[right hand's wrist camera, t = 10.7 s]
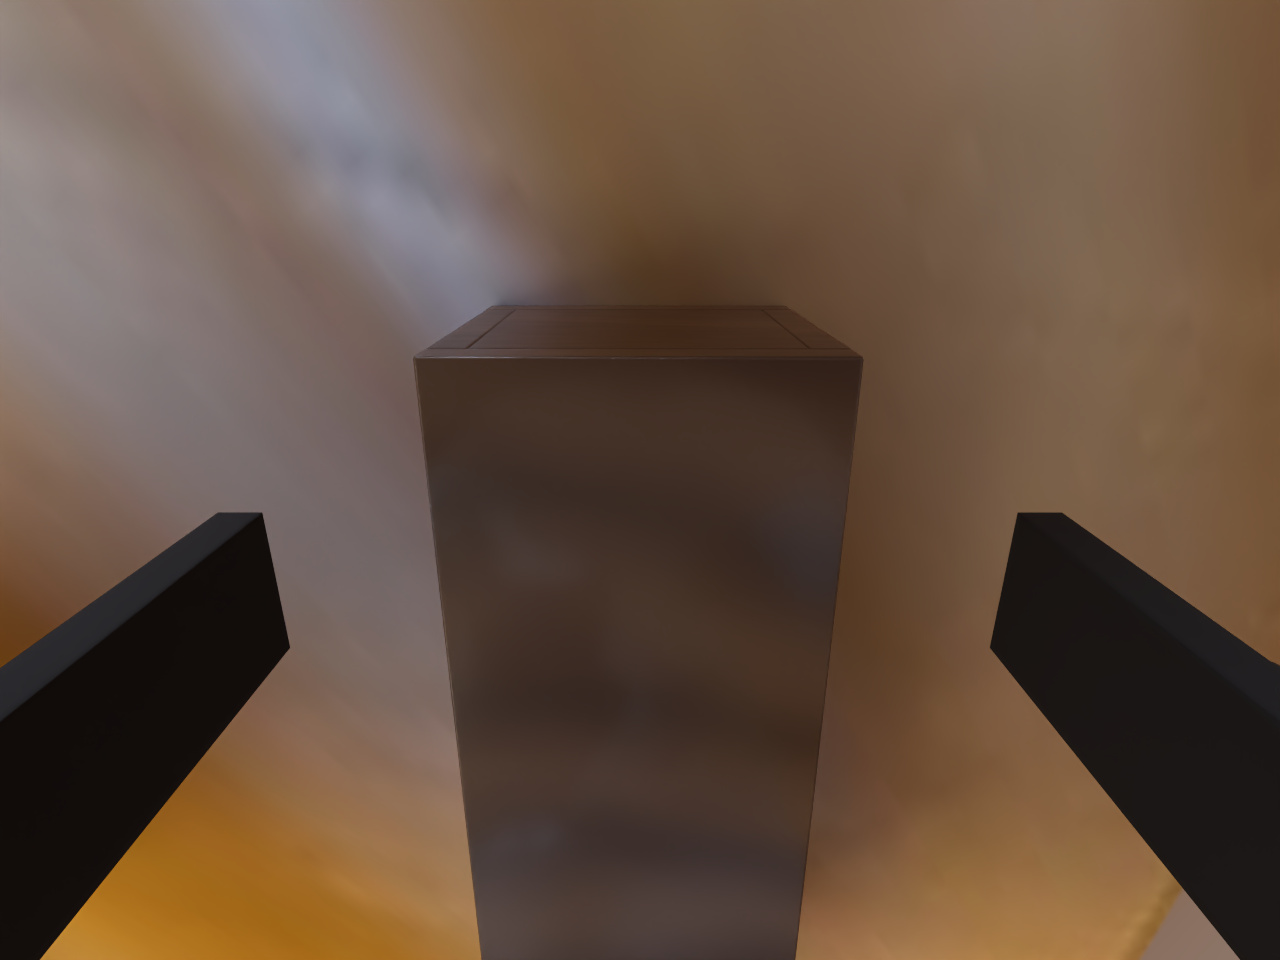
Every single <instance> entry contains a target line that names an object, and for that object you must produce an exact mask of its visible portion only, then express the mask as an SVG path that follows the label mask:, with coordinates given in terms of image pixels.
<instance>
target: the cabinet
mask: <svg viewBox="0 0 1280 960" xmlns="http://www.w3.org/2000/svg"><path fill="white" fill-rule="evenodd" d="M413 361H414V370H415V379H416V388H417V396H418V405H419V414H420V423H421V432H422V440H423V449H424V458H425V467H426V476H427V484H428V493H429V502H430V511H431V519H432V528H433V537H434V546H435V555H436V563H437V572H438V581H439V590H440V599H441V607H442V616H443V625H444V634H445V643H446V651H447V660H448V669H449V678H450V687H451V695H452V704H453V713H454V722H455V730H456V739H457V748H458V757H459V766H460V774H461V783H462V792H463V801H464V810H465V818H466V827H467V836H468V845H469V854H470V862H471V871H472V880H473V889H474V898H475V906H476V915H477V924H478V933H479V942H480V950H481V959H482V960H795V957H796V949H797V940H798V931H799V922H800V913H801V905H802V896H803V887H804V878H805V869H806V861H807V852H808V843H809V834H810V825H811V817H812V808H813V799H814V790H815V781H816V773H817V764H818V755H819V746H820V737H821V729H822V720H823V711H824V702H825V693H826V685H827V676H828V667H829V658H830V649H831V641H832V632H833V623H834V614H835V606H836V597H837V588H838V579H839V570H840V562H841V553H842V544H843V535H844V526H845V518H846V509H847V500H848V491H849V482H850V474H851V465H852V456H853V447H854V438H855V430H856V421H857V412H858V403H859V394H860V386H861V377H862V368H863V357H862V356H860V355H859V354H857V353H856V352H854V351H853V350H851V349H850V348H849V347H847V346H846V345H844V344H843V343H841V342H840V341H838V340H836V339H835V338H833V337H832V336H830V335H829V334H827V333H826V332H824V331H823V330H821V329H820V328H818V327H817V326H815V325H814V324H812V323H811V322H809V321H808V320H806V319H805V318H803V317H801V316H800V315H798V314H797V313H795V312H794V311H792V310H791V309H789V308H788V307H786V306H491V307H490V308H488V309H487V310H486V311H484V312H483V313H481V314H479V315H478V316H476V317H475V318H473V319H472V320H470V321H469V322H467V323H466V324H464V325H462V326H461V327H459V328H458V329H456V330H455V331H453V332H452V333H450V334H449V335H447V336H446V337H444V338H442V339H441V340H439V341H438V342H436V343H435V344H433V345H432V346H430V347H429V348H427V349H425V350H424V351H422V352H421V353H419V354H417V355H416V356H414V358H413Z"/></svg>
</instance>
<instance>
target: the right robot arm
mask: <svg viewBox="0 0 1280 960" xmlns="http://www.w3.org/2000/svg"><path fill="white" fill-rule="evenodd" d="M289 648H290V645H289V640H288V635H287V630H286V626H285V621H284V616H283V611H282V606H281V601H280V596H279V592H278V587H277V582H276V577H275V572H274V567H273V562H272V558H271V553H270V548H269V543H268V538H267V533H266V528H265V524H264V519H263V514H262V513H217V514H215V515H214V516H213V517H211V518H210V519H208V520H207V521H206V522H204V523H203V524H201V525H200V526H199V527H197V528H196V529H194V530H193V531H192V532H190V533H189V534H187V535H186V536H185V537H183V538H182V539H180V540H179V541H178V542H176V543H175V544H173V545H172V546H171V547H169V548H168V549H166V550H165V551H164V552H162V553H161V554H159V555H158V556H157V557H155V558H154V559H152V560H151V561H150V562H148V563H147V564H145V565H144V566H143V567H141V568H140V569H138V570H137V571H136V572H134V573H133V574H131V575H130V576H129V577H127V578H126V579H124V580H123V581H122V582H120V583H119V584H117V585H116V586H115V587H113V588H112V589H110V590H109V591H108V592H106V593H105V594H103V595H102V596H101V597H99V598H98V599H96V600H95V601H94V602H92V603H91V604H89V605H88V606H87V607H85V608H84V609H82V610H81V611H80V612H78V613H77V614H75V615H74V616H73V617H71V618H70V619H68V620H67V621H66V622H64V623H63V624H61V625H60V626H59V627H57V628H56V629H54V630H53V631H52V632H50V633H49V634H47V635H46V636H45V637H43V638H42V639H40V640H39V641H38V642H36V643H35V644H33V645H32V646H31V647H29V648H28V649H26V650H25V651H24V652H22V653H21V654H19V655H18V656H17V657H15V658H14V659H12V660H11V661H10V662H8V663H7V664H5V665H4V666H3V667H1V668H0V960H40V959H41V957H42V956H43V955H44V954H45V952H46V951H47V950H48V949H49V947H50V946H51V945H52V944H53V943H54V941H55V940H56V939H57V938H58V936H59V935H60V934H61V933H62V931H63V930H64V929H65V928H66V926H67V925H68V924H69V923H70V921H71V920H72V919H73V918H74V916H75V915H76V914H77V913H78V911H79V910H80V909H81V908H82V906H83V905H84V904H85V903H86V901H87V900H88V899H89V898H90V896H91V895H92V894H93V893H94V891H95V890H96V889H97V888H98V886H99V885H100V884H101V883H102V881H103V880H104V879H105V878H106V876H107V875H108V874H109V873H110V871H111V870H112V869H113V868H114V866H115V865H116V864H117V863H118V861H119V860H120V859H121V858H122V857H123V855H124V854H125V853H126V852H127V850H128V849H129V848H130V847H131V845H132V844H133V843H134V842H135V840H136V839H137V838H138V837H139V835H140V834H141V833H142V832H143V830H144V829H145V828H146V827H147V825H148V824H149V823H150V822H151V820H152V819H153V818H154V817H155V815H156V814H157V813H158V812H159V810H160V809H161V808H162V807H163V805H164V804H165V803H166V802H167V800H168V799H169V798H170V797H171V795H172V794H173V793H174V792H175V790H176V789H177V788H178V787H179V785H180V784H181V783H182V782H183V780H184V779H185V778H186V777H187V775H188V774H189V773H190V772H191V771H192V769H193V768H194V767H195V766H196V764H197V763H198V762H199V761H200V759H201V758H202V757H203V756H204V754H205V753H206V752H207V751H208V749H209V748H210V747H211V746H212V744H213V743H214V742H215V741H216V739H217V738H218V737H219V736H220V734H221V733H222V732H223V731H224V729H225V728H226V727H227V726H228V724H229V723H230V722H231V721H232V719H233V718H234V717H235V716H236V714H237V713H238V712H239V711H240V709H241V708H242V707H243V706H244V704H245V703H246V702H247V701H248V699H249V698H250V697H251V696H252V694H253V693H254V692H255V691H256V689H257V688H258V687H259V686H260V684H261V683H262V682H263V681H264V680H265V678H266V677H267V676H268V675H269V673H270V672H271V671H272V670H273V668H274V667H275V666H276V665H277V663H278V662H279V661H280V660H281V658H282V657H283V656H284V655H285V653H286V652H287V651H288V650H289ZM990 648H991V650H992V651H993V652H994V653H995V655H996V656H997V657H998V658H999V660H1000V661H1001V662H1002V663H1003V665H1004V666H1005V667H1006V668H1007V670H1008V671H1009V672H1010V673H1011V675H1012V676H1013V677H1014V678H1015V680H1016V681H1017V682H1018V683H1019V684H1020V686H1021V687H1022V688H1023V689H1024V691H1025V692H1026V693H1027V694H1028V696H1029V697H1030V698H1031V699H1032V701H1033V702H1034V703H1035V704H1036V706H1037V707H1038V708H1039V709H1040V711H1041V712H1042V713H1043V714H1044V716H1045V717H1046V718H1047V719H1048V721H1049V722H1050V723H1051V724H1052V726H1053V727H1054V728H1055V729H1056V731H1057V732H1058V733H1059V734H1060V736H1061V737H1062V738H1063V739H1064V741H1065V742H1066V743H1067V744H1068V746H1069V747H1070V748H1071V749H1072V751H1073V752H1074V753H1075V754H1076V756H1077V757H1078V758H1079V759H1080V761H1081V762H1082V763H1083V764H1084V766H1085V767H1086V768H1087V769H1088V771H1089V772H1090V773H1091V774H1092V775H1093V777H1094V778H1095V779H1096V780H1097V782H1098V783H1099V784H1100V785H1101V787H1102V788H1103V789H1104V790H1105V792H1106V793H1107V794H1108V795H1109V797H1110V798H1111V799H1112V800H1113V802H1114V803H1115V804H1116V805H1117V807H1118V808H1119V809H1120V810H1121V812H1122V813H1123V814H1124V815H1125V817H1126V818H1127V819H1128V820H1129V822H1130V823H1131V824H1132V825H1133V827H1134V828H1135V829H1136V830H1137V832H1138V833H1139V834H1140V835H1141V837H1142V838H1143V839H1144V840H1145V842H1146V843H1147V844H1148V845H1149V847H1150V848H1151V849H1152V850H1153V852H1154V853H1155V854H1156V855H1157V857H1158V858H1159V859H1160V860H1161V861H1162V863H1163V864H1164V865H1165V866H1166V868H1167V869H1168V870H1169V871H1170V873H1171V874H1172V875H1173V876H1174V878H1175V879H1176V880H1177V881H1178V883H1179V884H1180V885H1181V886H1182V888H1183V889H1184V890H1185V891H1186V893H1187V894H1188V895H1189V896H1190V898H1191V899H1192V900H1193V901H1194V903H1195V904H1196V905H1197V906H1198V908H1199V909H1200V910H1201V911H1202V913H1203V914H1204V915H1205V916H1206V918H1207V919H1208V920H1209V921H1210V922H1211V924H1212V925H1213V926H1214V927H1215V929H1216V930H1217V931H1218V933H1219V934H1220V935H1221V936H1222V937H1223V939H1224V940H1225V941H1226V942H1227V944H1228V945H1229V946H1230V947H1231V949H1232V950H1233V951H1234V952H1235V954H1236V955H1237V956H1238V957H1239V959H1240V960H1280V665H1277V664H1275V663H1273V662H1270V661H1269V660H1268V659H1266V658H1265V657H1263V656H1262V655H1261V654H1259V653H1258V652H1256V651H1255V650H1254V649H1252V648H1251V647H1249V646H1248V645H1247V644H1245V643H1244V642H1242V641H1241V640H1240V639H1238V638H1237V637H1235V636H1234V635H1233V634H1231V633H1230V632H1228V631H1227V630H1226V629H1224V628H1223V627H1221V626H1220V625H1219V624H1217V623H1216V622H1214V621H1213V620H1212V619H1210V618H1209V617H1207V616H1206V615H1205V614H1203V613H1202V612H1200V611H1199V610H1198V609H1196V608H1195V607H1193V606H1192V605H1191V604H1189V603H1188V602H1186V601H1185V600H1184V599H1182V598H1181V597H1179V596H1178V595H1177V594H1175V593H1174V592H1172V591H1171V590H1170V589H1168V588H1167V587H1165V586H1164V585H1163V584H1161V583H1160V582H1158V581H1157V580H1156V579H1154V578H1153V577H1151V576H1150V575H1149V574H1147V573H1146V572H1144V571H1143V570H1142V569H1140V568H1139V567H1137V566H1136V565H1135V564H1133V563H1132V562H1130V561H1129V560H1128V559H1126V558H1125V557H1123V556H1122V555H1121V554H1119V553H1118V552H1116V551H1115V550H1114V549H1112V548H1111V547H1109V546H1108V545H1107V544H1105V543H1104V542H1102V541H1101V540H1100V539H1098V538H1097V537H1095V536H1094V535H1093V534H1091V533H1090V532H1088V531H1087V530H1086V529H1084V528H1083V527H1081V526H1080V525H1079V524H1077V523H1076V522H1074V521H1073V520H1072V519H1070V518H1069V517H1067V516H1066V515H1065V514H1063V513H1018V514H1017V519H1016V524H1015V528H1014V533H1013V538H1012V543H1011V548H1010V553H1009V558H1008V562H1007V567H1006V572H1005V577H1004V582H1003V587H1002V592H1001V596H1000V601H999V606H998V611H997V616H996V621H995V626H994V630H993V635H992V640H991V645H990Z"/></svg>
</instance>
